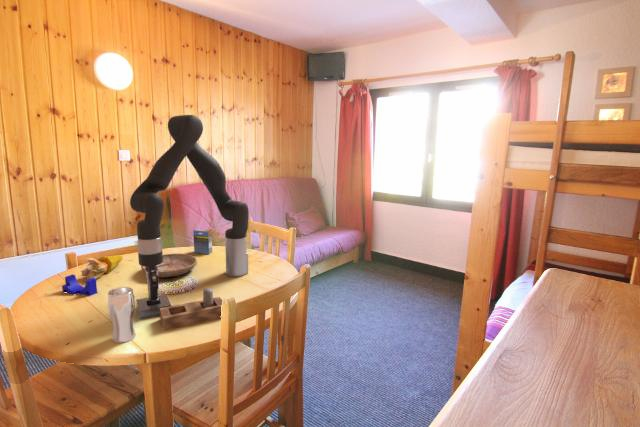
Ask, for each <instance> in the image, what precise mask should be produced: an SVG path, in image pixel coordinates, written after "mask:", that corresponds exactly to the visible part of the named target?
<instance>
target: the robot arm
mask: <svg viewBox="0 0 640 427" xmlns="http://www.w3.org/2000/svg"><path fill="white" fill-rule="evenodd" d="M203 125H204V124H203V122H202V120H201V118H199V117H198V116H197V115H194V114H183V115H181V114H180V115H175V116H171V117H170V118H169V120H168V122H167V130H168V132H169V136H170V137H171V138H172V140H173V141H174V143H173V144H172V145H171V146H170V147H169V148H168V149H167V151H165V152H164V153H163V154H162V155H161V156H160V157H159V158H158V159H157V160H156V162H155V163H154V165H153V166H152V169H151V170H150V172H149V174H148V176H147V177H146V178H145V179H144V180H143V182H141V183H140V184H139V185H138V187H137V188H136V189H135V190H134V191H133V192H132V194H131V196H130V201H129V205H130V208H131V209H132V210H133V211H135V212H137V213H143V214H145V215H144V219H141V220H139V221H137V224H136V232H137V255H138V257H137V258H138V264H139V266H140V267H141V266H144V267H146V268H145V272H144V273H145V278H146V282H148V283H147V285H148V284H149V287H150V288H149V290H150V296H151V300H157V299H158V294H159V292H158V293H157V289H158V290H159V287H160V286H159V282H160V281H159V280H160V279H159V278H160V277H158V274H159V270H158V268H157V267H156V266H157V265H159V264H161V263H162V262H163V255H164V254H163V243H162V237H161V235H162V234H161V222H162V219H163V213H164V205H165V204H164V200H163V198H162V196H161V195H160V194H159V192H162V191H166V189H168V188H169V185H170V183H171V182H172V180H173V178H174V176H175V174H176V172H177V170H178V169H179V167H180V165H181V163H182V162H183V161H184V159H185V158H186V157H187V159H188V161H189V162H190V164H191V166H192V167H193V169H194V170H195V172H196V173H197V176H198V177H199V179H200V180H201V182H202V184H203V185H204V186H205V187H206V189H207V191H208V193H209V194H210V195H211V198H212V199H213V201H214V203H215V205H216V207H217V210H218V211H219V214H220V215H221V217H222V218H223V219H225V220H226V221H229V222H232V225H231V228H228V229H226V230H225V232H224V234H225V236H224V238H225V240H224V241H225V275H226V276H229V277H243V276H245V275H247V273H248V274H249V253H248V252H247V250H248V247H247V243H248V242H247V233H248V229H249V215H250V214H249V207H248V205H247V203H245V202H244V201H241V200H240V201H239V200H233V198H232V197H231V196H230V194H229V193H228V192H227V188H226V185H227V184H226V183H227V181H226V180H227V178H226V174H225V172H224V170H223V169H222V167H221V164H220V163H219V162H218V161H217V160H216V158H214V157H213V155H211V154H210V153H209V152H207V150H205V149H203V148H202V147H201V145H200V144H199V143H198V141H199V139H200V138H201V137H202V134H203V130H204V126H203ZM149 280H150V281H149ZM153 285H156V286H153Z"/></svg>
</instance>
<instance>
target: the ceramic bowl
mask: <svg viewBox="0 0 640 427" xmlns="http://www.w3.org/2000/svg"><path fill="white" fill-rule="evenodd" d="M197 263H198V261H197V258H196V257H195V256H194V255H190V254H185V253H167V254H166V253H165V254H163V262H162V263H161V264H159V265H157V266H156V267H157V268H158V270H159V274H158V277H159V278H169V277H171V278H172V277H177V276H180V275H184V274H187V273H188V272H190V271H192V270H193V269H194V268H195V267H196V266H197ZM145 268H146V267H144V266H141V265H140V269H141V270H142V271H143V272H144V273H145Z"/></svg>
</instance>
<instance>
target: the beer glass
mask: <svg viewBox="0 0 640 427" xmlns="http://www.w3.org/2000/svg"><path fill="white" fill-rule="evenodd" d="M135 302H136V300H135V295H134V289H133V287H131V286H130V287H129V286H121V287H120V286H119V287H116V288H112V289H110V290H109V291H108V292H107V309H108V310H107V312H108V315H109V319H110V321H111V325H112V328H113V332H112V333H113V334H112V341H113V342H114V343H117V344H122V343H127V342H130V341H132V340H133V339H135V337H136V332H135V328H134V317H135V306H136V303H135Z"/></svg>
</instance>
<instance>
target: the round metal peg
mask: <svg viewBox="0 0 640 427" xmlns="http://www.w3.org/2000/svg"><path fill="white" fill-rule="evenodd" d="M149 281H150V280H149ZM146 282H147V281H146ZM153 286H156V285H153ZM149 288H150V287H149V284H148V282H147V292H148V293H147V295H148V297H149V306H150V305H155V304H159V296H160V295H159V288H158V289H157V293H158V299H157V300H151V296H150V290H149Z"/></svg>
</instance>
